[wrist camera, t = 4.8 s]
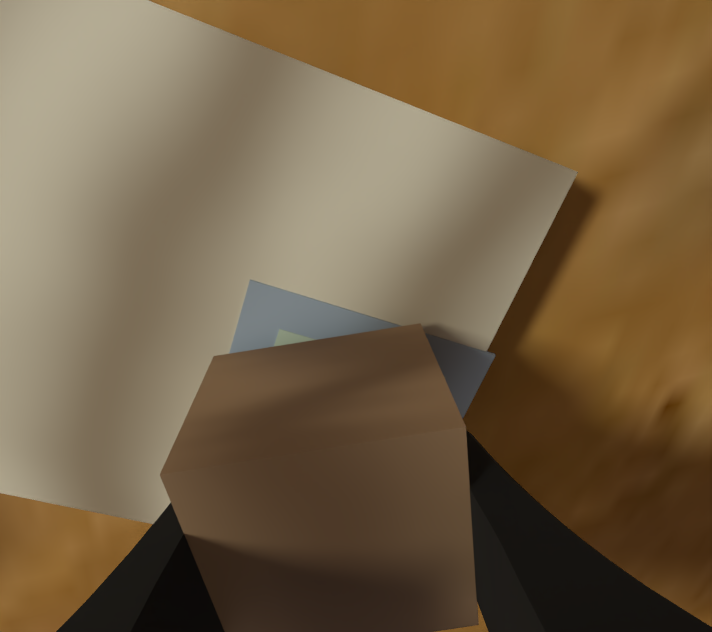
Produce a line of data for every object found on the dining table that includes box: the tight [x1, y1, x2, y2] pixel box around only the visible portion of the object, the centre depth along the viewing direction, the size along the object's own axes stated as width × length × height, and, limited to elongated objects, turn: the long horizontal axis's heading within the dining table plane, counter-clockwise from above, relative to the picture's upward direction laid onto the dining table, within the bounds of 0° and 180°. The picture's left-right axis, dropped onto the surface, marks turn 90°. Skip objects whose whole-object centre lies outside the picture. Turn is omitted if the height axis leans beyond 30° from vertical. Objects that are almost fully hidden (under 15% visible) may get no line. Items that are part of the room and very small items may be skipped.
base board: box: [0, 0, 578, 524], centre depth 12 cm, size 16×13×2 cm
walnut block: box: [160, 323, 479, 632], centre depth 10 cm, size 5×5×4 cm
